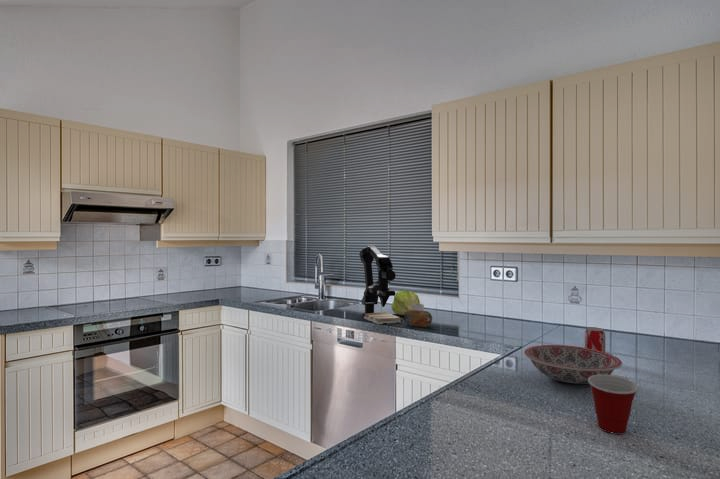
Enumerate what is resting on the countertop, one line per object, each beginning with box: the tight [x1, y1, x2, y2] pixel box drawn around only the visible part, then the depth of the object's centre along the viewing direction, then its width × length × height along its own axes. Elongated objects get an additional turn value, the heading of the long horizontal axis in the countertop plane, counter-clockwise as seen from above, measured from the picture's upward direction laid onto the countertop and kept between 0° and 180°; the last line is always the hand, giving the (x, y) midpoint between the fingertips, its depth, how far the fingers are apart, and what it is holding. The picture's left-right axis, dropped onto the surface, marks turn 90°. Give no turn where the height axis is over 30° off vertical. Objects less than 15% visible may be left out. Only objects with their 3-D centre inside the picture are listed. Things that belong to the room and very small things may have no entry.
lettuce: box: [390, 290, 421, 316], centre depth 259 cm, size 17×24×14 cm
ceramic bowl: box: [523, 344, 623, 385], centre depth 144 cm, size 29×29×8 cm
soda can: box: [584, 326, 606, 353], centre depth 167 cm, size 7×7×12 cm
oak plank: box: [368, 312, 401, 322], centre depth 243 cm, size 14×13×2 cm
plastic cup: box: [588, 374, 639, 434], centre depth 107 cm, size 11×11×12 cm
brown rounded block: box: [403, 310, 433, 328], centre depth 230 cm, size 15×3×8 cm, turn 62°
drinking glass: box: [412, 303, 425, 311], centre depth 238 cm, size 7×7×10 cm
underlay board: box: [363, 311, 402, 325], centre depth 245 cm, size 18×14×3 cm
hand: (383, 306), depth 243 cm, fingers closed
